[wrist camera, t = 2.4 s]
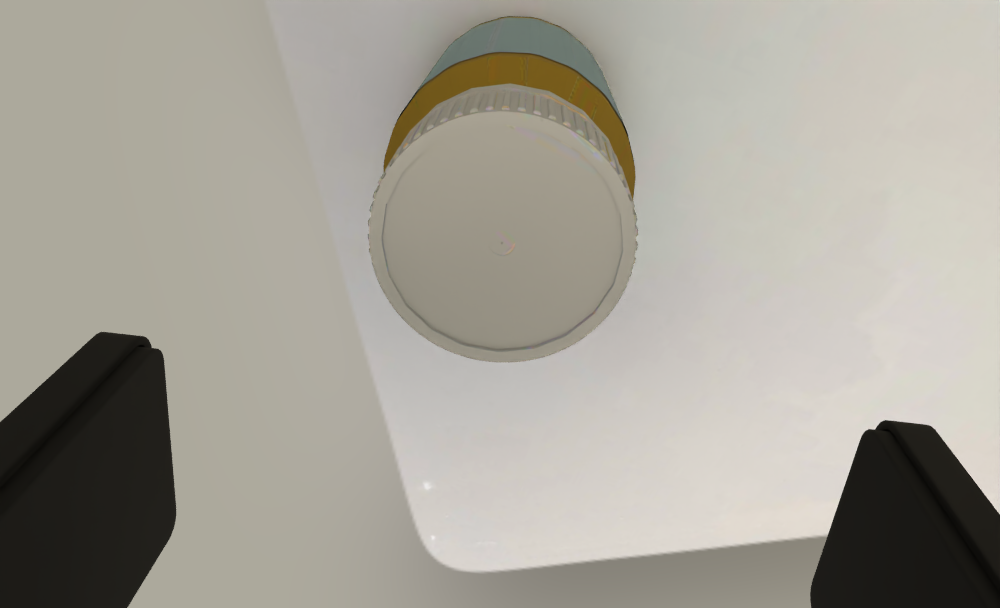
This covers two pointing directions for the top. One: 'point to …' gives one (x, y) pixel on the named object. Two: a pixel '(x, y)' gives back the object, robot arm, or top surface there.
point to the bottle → (507, 197)
